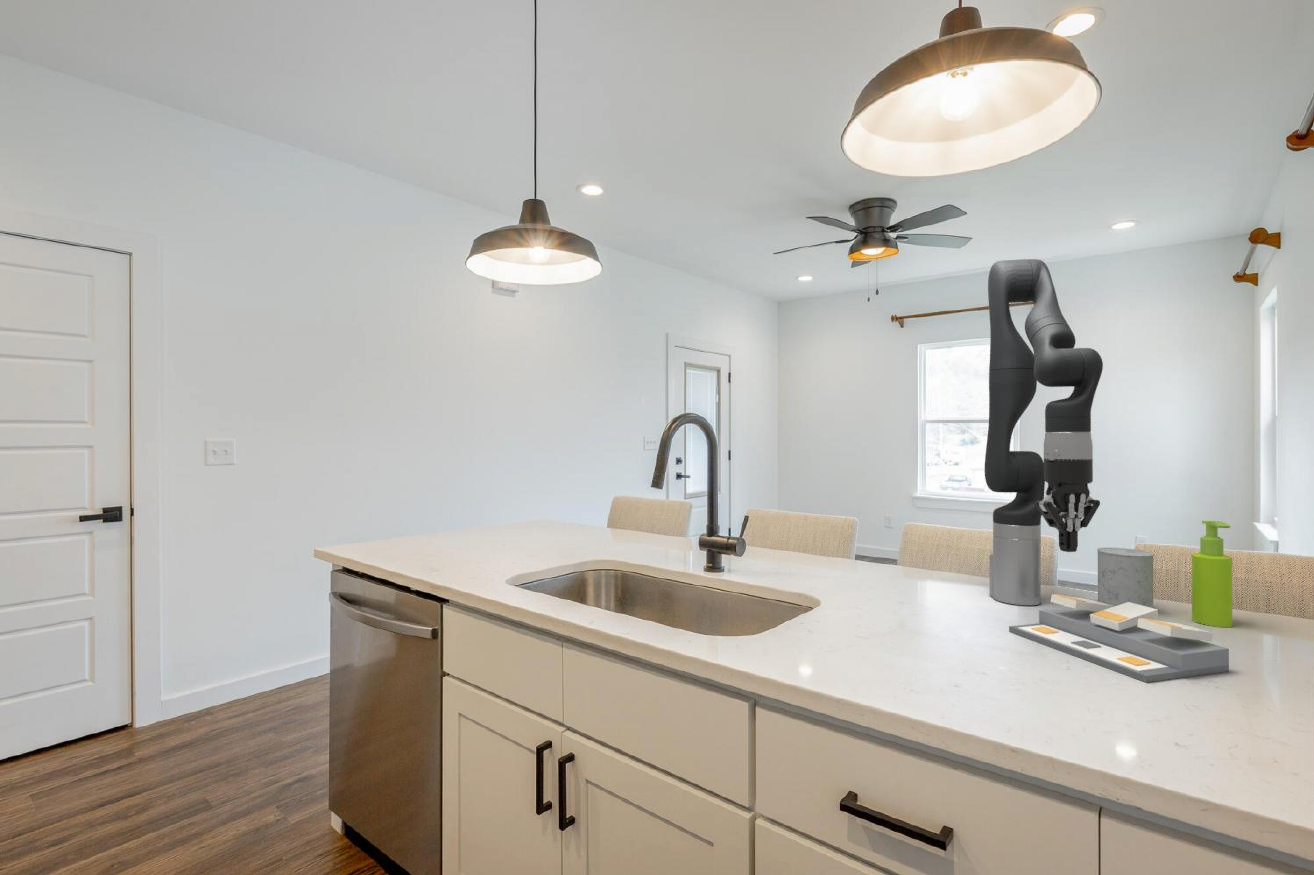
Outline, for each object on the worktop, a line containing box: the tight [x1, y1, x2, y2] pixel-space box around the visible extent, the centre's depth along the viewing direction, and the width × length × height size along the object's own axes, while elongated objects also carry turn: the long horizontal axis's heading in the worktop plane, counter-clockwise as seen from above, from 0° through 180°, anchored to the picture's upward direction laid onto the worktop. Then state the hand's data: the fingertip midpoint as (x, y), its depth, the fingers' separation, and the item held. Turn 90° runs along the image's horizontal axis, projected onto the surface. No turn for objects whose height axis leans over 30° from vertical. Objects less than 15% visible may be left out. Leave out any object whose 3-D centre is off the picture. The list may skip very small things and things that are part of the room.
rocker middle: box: [1090, 602, 1160, 631], centre depth 107 cm, size 5×9×2 cm, turn 105°
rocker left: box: [1050, 593, 1114, 612], centre depth 115 cm, size 5×9×2 cm, turn 105°
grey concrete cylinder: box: [1096, 547, 1155, 608], centre depth 131 cm, size 10×10×12 cm
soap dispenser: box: [1191, 520, 1233, 628], centre depth 121 cm, size 6×7×20 cm
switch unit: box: [1008, 607, 1230, 683], centre depth 106 cm, size 25×17×4 cm
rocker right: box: [1137, 618, 1214, 642], centre depth 99 cm, size 5×9×2 cm, turn 105°
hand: (1068, 551), depth 114 cm, fingers closed
